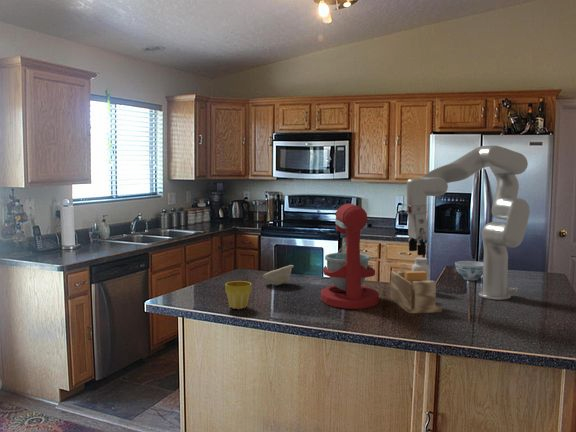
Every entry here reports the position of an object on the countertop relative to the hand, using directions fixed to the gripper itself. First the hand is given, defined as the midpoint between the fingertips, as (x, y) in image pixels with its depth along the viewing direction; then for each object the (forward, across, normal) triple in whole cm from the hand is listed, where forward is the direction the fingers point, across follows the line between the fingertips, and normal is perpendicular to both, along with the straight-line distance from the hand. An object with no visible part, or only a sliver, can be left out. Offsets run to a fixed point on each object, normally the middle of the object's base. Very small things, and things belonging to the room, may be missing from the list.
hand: (417, 252), depth 207 cm
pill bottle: (+22, +21, -9) cm, 31 cm away
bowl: (+20, +43, +52) cm, 70 cm away
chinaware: (+23, +44, -43) cm, 65 cm away
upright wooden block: (+18, 0, +1) cm, 18 cm away
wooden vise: (+21, 0, +1) cm, 21 cm away
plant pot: (+19, +4, +71) cm, 74 cm away
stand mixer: (+20, +11, +25) cm, 34 cm away
